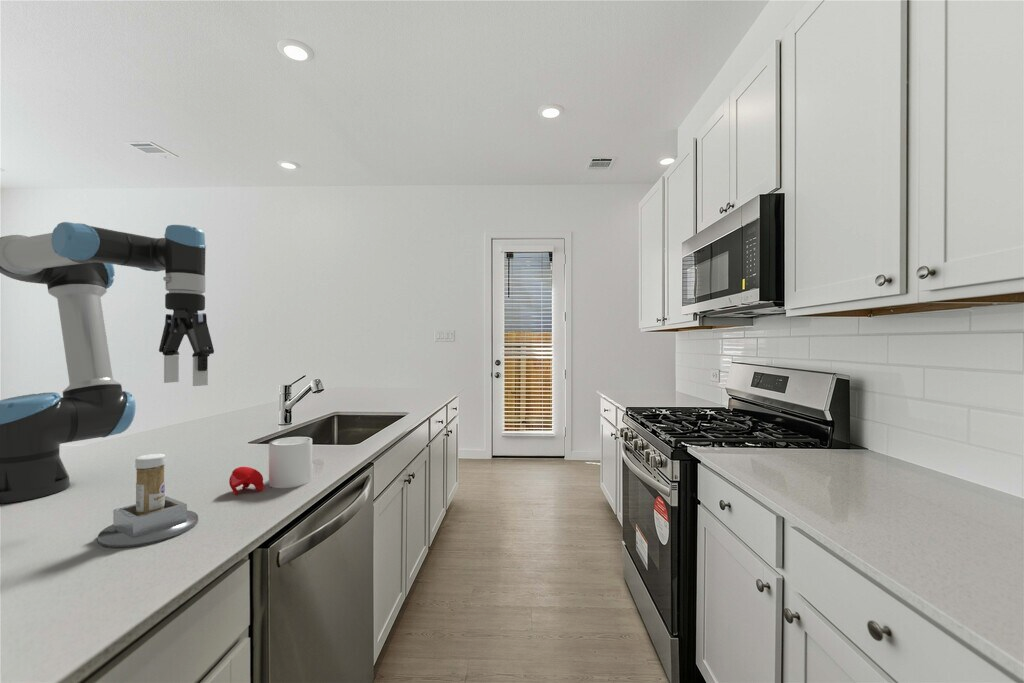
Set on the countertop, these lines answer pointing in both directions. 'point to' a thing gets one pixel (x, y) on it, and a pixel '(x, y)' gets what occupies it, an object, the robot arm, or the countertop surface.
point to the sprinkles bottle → (150, 483)
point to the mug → (290, 462)
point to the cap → (245, 479)
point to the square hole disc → (147, 525)
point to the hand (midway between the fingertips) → (185, 384)
